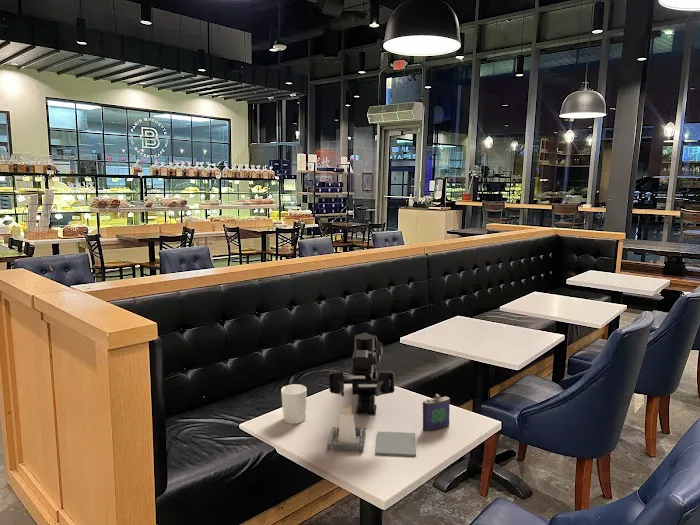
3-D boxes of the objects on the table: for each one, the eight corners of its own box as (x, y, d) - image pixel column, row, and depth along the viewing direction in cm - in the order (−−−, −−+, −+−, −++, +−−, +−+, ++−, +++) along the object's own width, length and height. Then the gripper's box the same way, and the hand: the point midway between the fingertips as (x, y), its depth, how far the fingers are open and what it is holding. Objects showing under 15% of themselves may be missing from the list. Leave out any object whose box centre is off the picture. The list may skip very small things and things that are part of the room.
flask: (446, 422, 162) (447, 390, 160) (451, 426, 159) (452, 393, 158) (420, 428, 158) (421, 395, 156) (426, 433, 156) (426, 399, 154)
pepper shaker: (345, 449, 147) (345, 412, 145) (334, 441, 151) (333, 405, 149) (360, 442, 150) (360, 406, 148) (348, 435, 154) (348, 400, 153)
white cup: (277, 419, 165) (276, 389, 164) (296, 411, 171) (295, 382, 169) (292, 427, 160) (291, 396, 158) (312, 419, 165) (311, 389, 163)
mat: (377, 433, 156) (377, 431, 156) (415, 434, 155) (415, 432, 154) (375, 454, 144) (375, 452, 144) (416, 456, 143) (416, 454, 143)
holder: (332, 433, 156) (332, 426, 156) (365, 434, 155) (365, 428, 155) (327, 450, 146) (327, 443, 146) (363, 452, 145) (363, 445, 145)
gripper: (331, 346, 158) (323, 367, 143) (393, 345, 156) (392, 366, 141) (333, 381, 160) (326, 405, 145) (394, 380, 158) (393, 405, 143)
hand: (359, 394), depth 143 cm, fingers open, 9 cm apart
